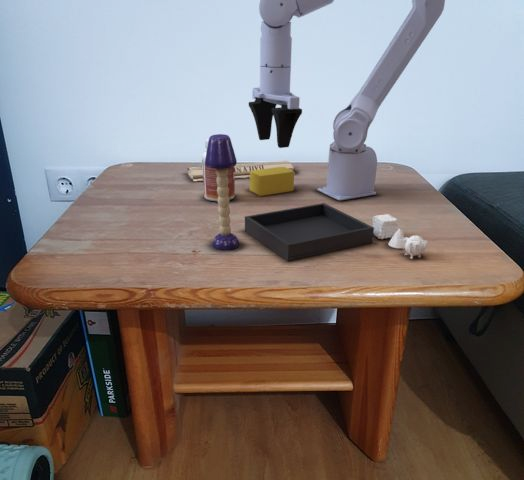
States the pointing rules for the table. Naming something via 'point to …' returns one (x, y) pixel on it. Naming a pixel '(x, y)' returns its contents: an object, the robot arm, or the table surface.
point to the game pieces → (397, 235)
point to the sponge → (271, 181)
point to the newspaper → (241, 169)
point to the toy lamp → (222, 186)
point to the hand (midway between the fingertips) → (273, 143)
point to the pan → (308, 231)
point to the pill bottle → (211, 177)
